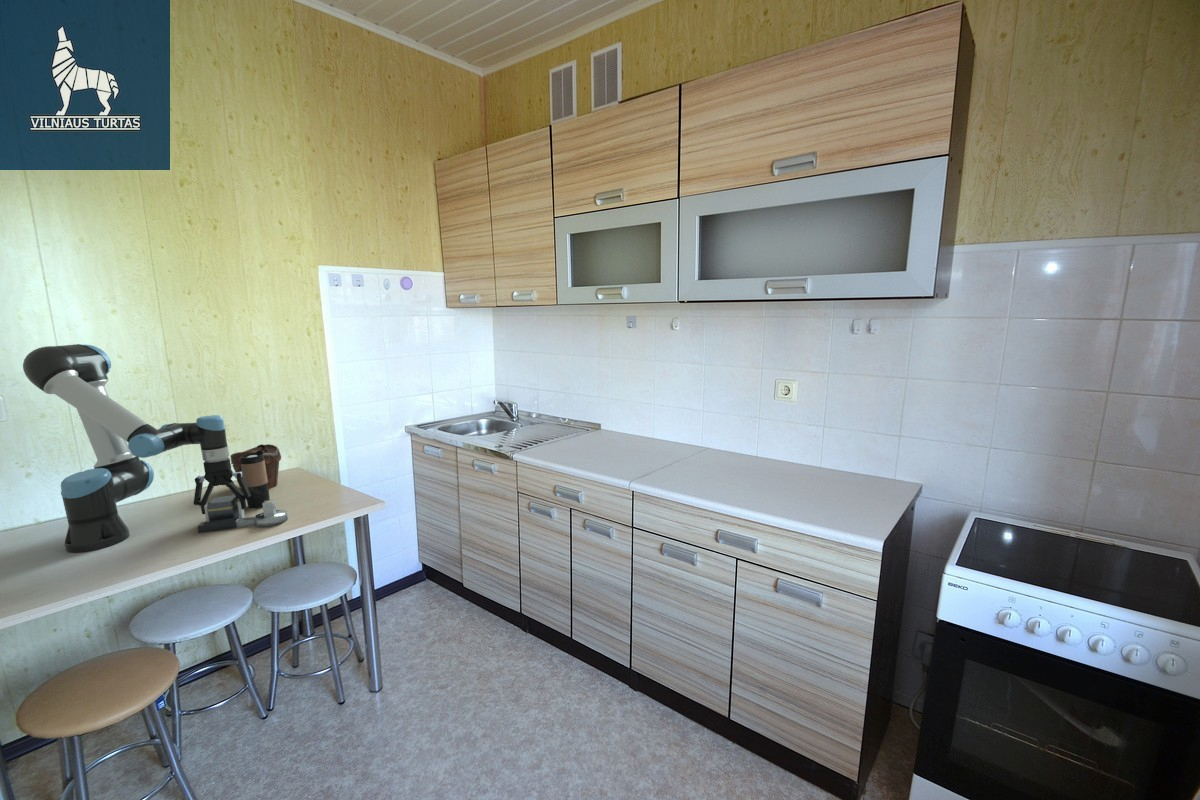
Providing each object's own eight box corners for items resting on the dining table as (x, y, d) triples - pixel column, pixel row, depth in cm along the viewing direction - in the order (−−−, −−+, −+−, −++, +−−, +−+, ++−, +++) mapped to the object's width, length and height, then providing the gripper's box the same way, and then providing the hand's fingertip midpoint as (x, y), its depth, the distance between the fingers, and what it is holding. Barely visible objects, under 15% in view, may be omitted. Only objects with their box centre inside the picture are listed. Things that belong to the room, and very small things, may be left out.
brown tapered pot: (281, 476, 234) (275, 438, 230) (288, 487, 218) (282, 446, 215) (233, 486, 223) (226, 446, 219) (238, 498, 207) (230, 455, 204)
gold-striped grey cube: (210, 525, 179) (206, 504, 178) (217, 518, 186) (214, 497, 184) (234, 522, 182) (230, 501, 180) (240, 515, 188) (237, 494, 187)
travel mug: (275, 501, 201) (268, 452, 198) (260, 509, 194) (253, 458, 191) (257, 501, 202) (250, 452, 199) (242, 508, 195) (234, 458, 191)
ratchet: (194, 537, 170) (190, 515, 169) (206, 525, 179) (202, 505, 178) (283, 524, 178) (281, 504, 177) (290, 514, 188) (288, 495, 186)
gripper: (173, 466, 173) (184, 529, 177) (249, 458, 180) (258, 518, 184) (183, 460, 180) (193, 520, 184) (255, 453, 187) (264, 511, 191)
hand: (226, 519), depth 184 cm, fingers open, 9 cm apart
